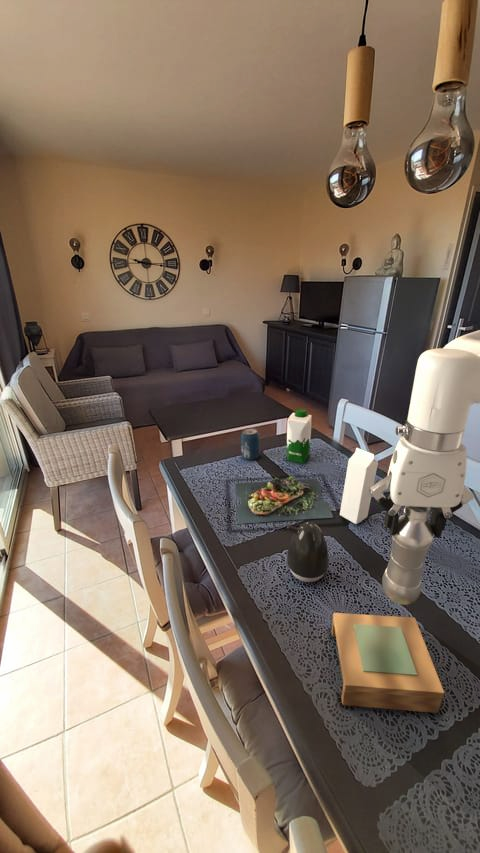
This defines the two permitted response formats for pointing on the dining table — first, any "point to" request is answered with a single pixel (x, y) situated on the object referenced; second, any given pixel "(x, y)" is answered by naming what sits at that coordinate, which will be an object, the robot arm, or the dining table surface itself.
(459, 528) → the dining table surface
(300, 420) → the milk carton
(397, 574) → the silver metal bottle
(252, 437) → the soda can
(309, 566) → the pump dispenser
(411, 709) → the wooden block
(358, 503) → the milk
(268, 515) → the plated dish
